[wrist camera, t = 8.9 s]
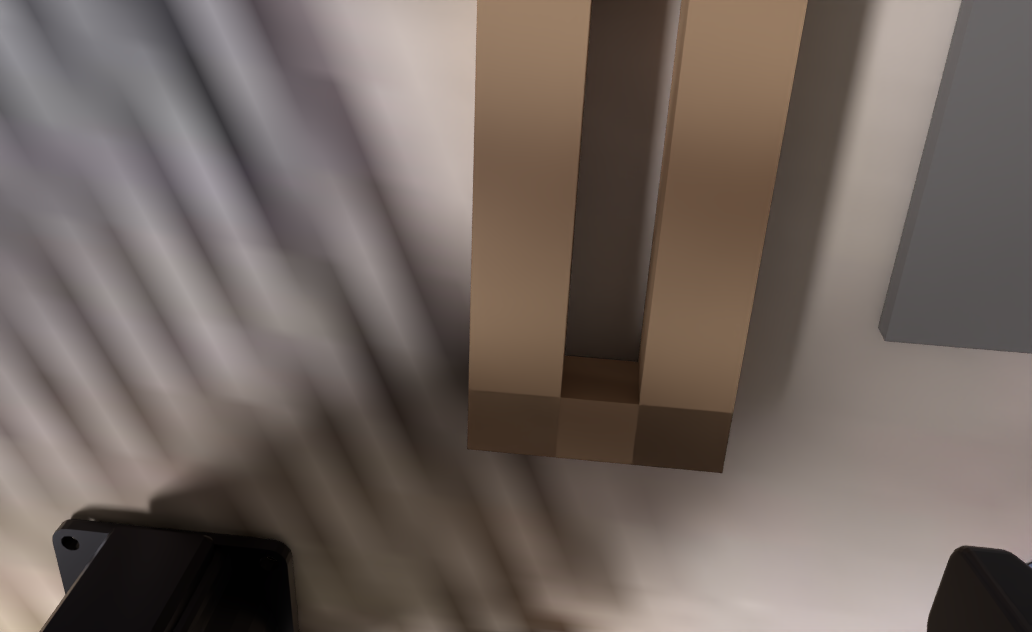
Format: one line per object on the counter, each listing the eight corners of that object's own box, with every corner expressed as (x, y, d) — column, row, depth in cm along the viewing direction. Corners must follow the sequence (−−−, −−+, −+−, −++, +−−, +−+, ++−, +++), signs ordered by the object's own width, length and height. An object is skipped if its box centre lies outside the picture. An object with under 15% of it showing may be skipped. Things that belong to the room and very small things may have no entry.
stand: (715, 426, 23) (722, 473, 21) (477, 405, 23) (467, 449, 21) (810, -129, 17) (830, -122, 15) (492, -145, 17) (480, -140, 16)
